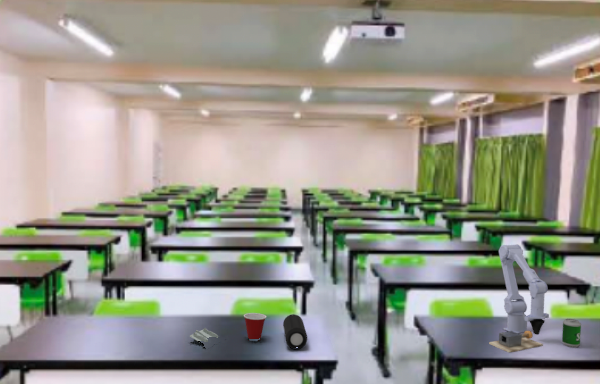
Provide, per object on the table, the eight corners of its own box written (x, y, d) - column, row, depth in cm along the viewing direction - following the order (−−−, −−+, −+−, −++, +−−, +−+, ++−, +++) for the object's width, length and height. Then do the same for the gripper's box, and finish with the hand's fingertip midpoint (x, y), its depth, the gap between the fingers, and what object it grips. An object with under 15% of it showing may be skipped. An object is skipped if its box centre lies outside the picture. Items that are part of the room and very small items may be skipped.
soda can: (573, 349, 240) (574, 323, 239) (558, 343, 246) (559, 319, 246) (583, 346, 243) (584, 321, 242) (568, 341, 250) (569, 317, 249)
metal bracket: (185, 332, 237) (206, 323, 251) (183, 343, 239) (203, 334, 252) (209, 346, 231) (229, 336, 244) (206, 358, 232) (226, 347, 246)
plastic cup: (270, 339, 246) (271, 315, 245) (253, 345, 238) (254, 320, 237) (255, 334, 253) (255, 310, 252) (238, 339, 245) (238, 314, 244)
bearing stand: (521, 337, 254) (522, 326, 254) (542, 345, 244) (543, 333, 243) (488, 343, 245) (489, 331, 244) (509, 352, 234) (509, 340, 234)
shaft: (526, 336, 250) (526, 329, 249) (532, 339, 246) (532, 331, 246) (505, 340, 244) (506, 333, 243) (512, 343, 240) (512, 335, 240)
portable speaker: (282, 332, 257) (283, 312, 256) (302, 332, 258) (302, 312, 257) (285, 351, 231) (286, 329, 231) (307, 351, 232) (308, 329, 232)
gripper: (533, 310, 242) (532, 338, 243) (554, 306, 249) (553, 334, 249) (521, 306, 249) (520, 333, 249) (542, 303, 255) (541, 330, 256)
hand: (536, 333), depth 250 cm, fingers closed
